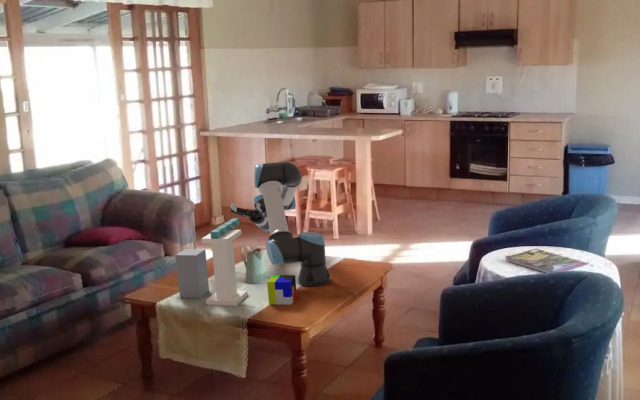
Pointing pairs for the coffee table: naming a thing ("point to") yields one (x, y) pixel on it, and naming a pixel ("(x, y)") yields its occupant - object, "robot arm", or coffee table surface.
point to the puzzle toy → (281, 289)
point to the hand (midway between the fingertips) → (244, 205)
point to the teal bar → (224, 228)
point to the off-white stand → (224, 270)
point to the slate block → (192, 273)
